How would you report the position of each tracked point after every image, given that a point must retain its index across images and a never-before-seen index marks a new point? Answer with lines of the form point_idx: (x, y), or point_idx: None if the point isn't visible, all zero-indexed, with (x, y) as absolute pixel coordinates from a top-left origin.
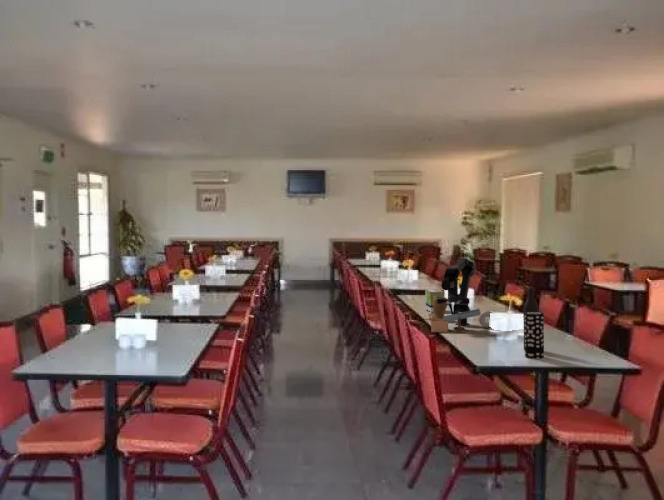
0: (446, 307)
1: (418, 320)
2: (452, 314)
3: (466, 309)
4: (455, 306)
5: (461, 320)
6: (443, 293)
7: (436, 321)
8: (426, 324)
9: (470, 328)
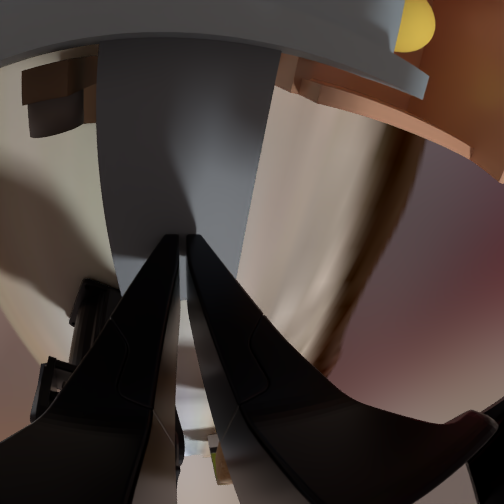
0: (219, 442)
1: (329, 367)
2: (238, 9)
3: (41, 401)
4: (90, 430)
5: (104, 314)
6: (218, 480)
7: None
8: (347, 302)
9: (17, 139)
